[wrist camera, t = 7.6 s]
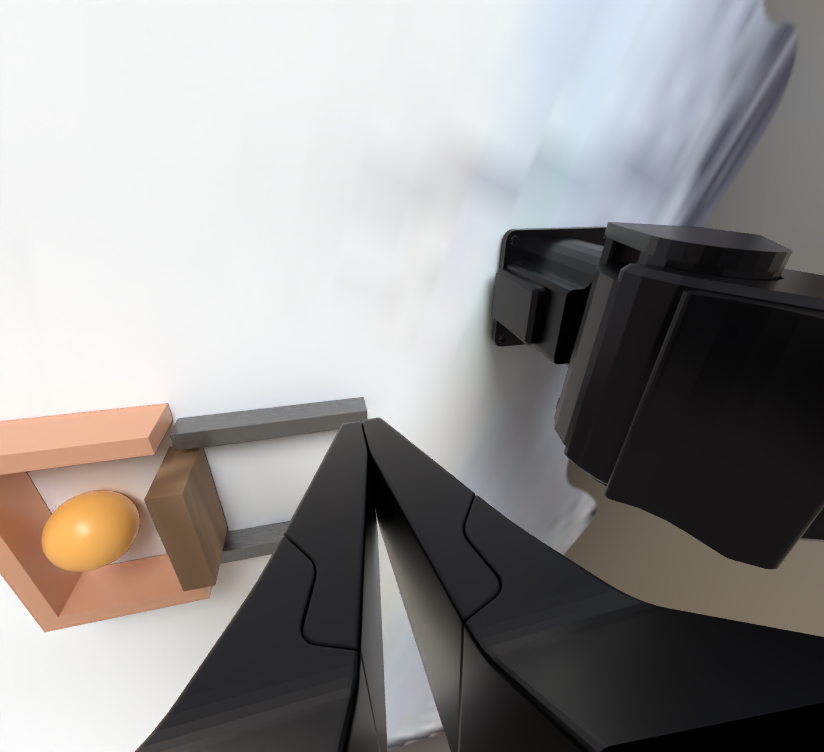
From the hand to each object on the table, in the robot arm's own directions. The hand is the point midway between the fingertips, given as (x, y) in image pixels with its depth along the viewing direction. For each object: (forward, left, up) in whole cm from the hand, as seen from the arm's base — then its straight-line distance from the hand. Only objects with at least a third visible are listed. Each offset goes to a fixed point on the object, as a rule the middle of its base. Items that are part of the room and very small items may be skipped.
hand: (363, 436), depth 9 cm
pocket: (+13, +12, -13) cm, 22 cm away
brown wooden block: (+9, +12, -13) cm, 19 cm away
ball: (+13, +12, -11) cm, 21 cm away
